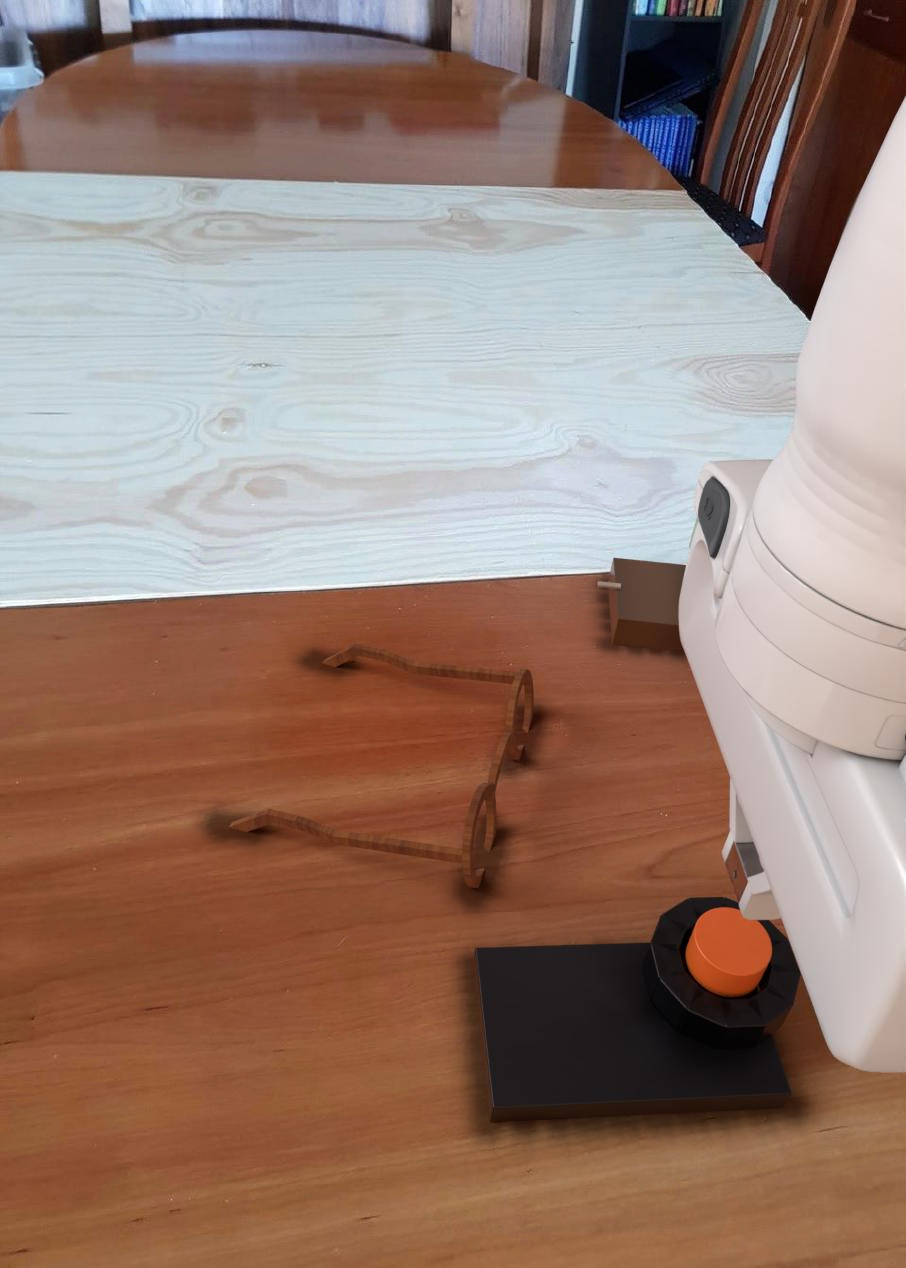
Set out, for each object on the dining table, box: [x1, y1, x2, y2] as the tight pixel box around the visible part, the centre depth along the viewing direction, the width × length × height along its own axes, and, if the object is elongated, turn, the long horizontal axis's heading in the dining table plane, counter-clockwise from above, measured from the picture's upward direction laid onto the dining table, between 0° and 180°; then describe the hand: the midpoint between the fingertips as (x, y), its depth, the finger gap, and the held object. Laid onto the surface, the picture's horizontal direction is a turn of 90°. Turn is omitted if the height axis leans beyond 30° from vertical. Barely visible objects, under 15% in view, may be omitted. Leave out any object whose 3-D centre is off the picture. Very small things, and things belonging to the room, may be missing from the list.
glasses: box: [228, 643, 535, 889], centre depth 54 cm, size 13×13×5 cm
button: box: [685, 907, 772, 997], centre depth 44 cm, size 3×3×2 cm
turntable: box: [597, 557, 686, 653], centre depth 65 cm, size 14×14×3 cm
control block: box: [472, 896, 802, 1123], centre depth 45 cm, size 13×8×4 cm, turn 95°
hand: (751, 888), depth 41 cm, fingers closed
